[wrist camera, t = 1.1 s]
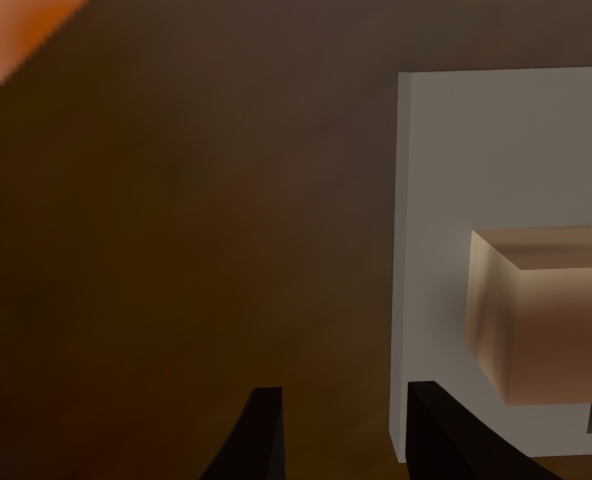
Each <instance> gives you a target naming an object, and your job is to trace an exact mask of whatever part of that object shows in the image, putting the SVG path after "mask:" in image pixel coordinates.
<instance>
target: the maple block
mask: <svg viewBox="0 0 592 480" xmlns="http://www.w3.org/2000/svg"><path fill="white" fill-rule="evenodd" d="M464 343H465V345H466V346H467V348H468V349H469V351H470V352H471V354H472V355H473V357H474V358H475V360H476V361H477V363H478V364H479V366H480V367H481V369H482V370H483V372H484V373H485V375H486V376H487V378H488V379H489V381H490V382H491V383H492V385H493V386H494V388H495V389H496V391H497V392H498V394H499V395H500V397H501V398H502V400H503V401H504V403H505V404H506V406H528V405H552V404H575V403H592V225H582V226H555V227H529V228H502V229H475V230H472V236H471V250H470V265H469V279H468V293H467V307H466V321H465V335H464Z"/></svg>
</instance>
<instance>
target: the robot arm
mask: <svg viewBox="0 0 592 480" xmlns="http://www.w3.org/2000/svg"><path fill="white" fill-rule="evenodd" d="M405 458H406V463H407V467H408V472H409V476H410V480H563V479H561V478H560V477H558V476H556V475H555V474H553V473H552V472H550V471H548V470H547V469H545V468H544V467H542V466H541V465H539V464H538V463H536V462H535V461H533V460H532V459H530V458H529V457H528V456H526V455H525V454H523V453H522V452H521V451H519V450H518V449H517V448H515V447H514V446H512V445H511V444H510V443H508V442H507V441H506V440H504V439H503V438H502V437H501V436H499V435H498V434H497V433H495V432H494V431H493V430H492V429H490V428H489V427H488V426H487V425H486V424H484V423H483V422H482V421H481V420H479V419H478V418H477V417H476V416H475V415H474V414H472V413H471V412H470V411H469V410H468V409H467V408H465V407H464V406H463V405H462V404H461V403H460V402H458V401H457V400H456V399H455V398H454V397H453V396H452V395H451V394H449V393H448V392H447V391H446V390H445V389H444V388H443V387H441V386H440V385H439V384H438V383H437V382H435V381H412V382H408V389H407V417H406V444H405ZM198 480H285V451H284V429H283V406H282V387H269V388H255V389H254V390H253V391H252V392H251V393H250V395H249V398H248V400H247V402H246V405H245V407H244V409H243V411H242V413H241V415H240V416H239V418H238V420H237V422H236V424H235V425H234V427H233V429H232V430H231V432H230V434H229V435H228V437H227V439H226V440H225V442H224V444H223V445H222V447H221V448H220V450H219V451H218V452H217V454H216V455H215V457H214V458H213V460H212V461H211V462H210V464H209V465H208V467H207V468H206V469H205V471H204V472H203V473H202V475H201V476H200V477H199V479H198Z"/></svg>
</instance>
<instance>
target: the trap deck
mask: <svg viewBox="0 0 592 480" xmlns="http://www.w3.org/2000/svg"><path fill="white" fill-rule="evenodd" d="M582 225H592V66H581V67H550V68H519V69H489V70H458V71H427V72H398V108H397V147H396V186H395V225H394V264H393V303H392V342H391V381H390V420H389V432H390V435H391V439H392V442H393V445H394V448H395V452H396V455H397V458H398V462H399V463H404V462H406V458H405V444H406V417H407V389H408V382H412V381H435V382H437V383H438V384H439V385H440V386H441V387H443V388H444V389H445V390H446V391H447V392H448V393H449V394H451V395H452V396H453V397H454V398H455V399H456V400H457V401H458V402H460V403H461V404H462V405H463V406H464V407H465V408H467V409H468V410H469V411H470V412H471V413H472V414H474V415H475V416H476V417H477V418H478V419H479V420H481V421H482V422H483V423H484V424H486V425H487V426H488V427H489V428H490V429H492V430H493V431H494V432H495V433H497V434H498V435H499V436H501V437H502V438H503V439H504V440H506V441H507V442H508V443H510V444H511V445H512V446H514V447H515V448H517V449H518V450H519V451H521V452H522V453H523V454H525V455H526V456H528V457H539V456H562V455H584V454H592V403H575V404H552V405H528V406H506V404H505V403H504V401H503V400H502V398H501V397H500V395H499V394H498V392H497V391H496V389H495V388H494V386H493V385H492V383H491V382H490V381H489V379H488V378H487V376H486V375H485V373H484V372H483V370H482V369H481V367H480V366H479V364H478V363H477V361H476V360H475V358H474V357H473V355H472V354H471V352H470V351H469V349H468V348H467V346H466V345H465V343H464V335H465V321H466V307H467V293H468V279H469V265H470V250H471V236H472V230H475V229H502V228H529V227H555V226H582Z"/></svg>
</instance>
